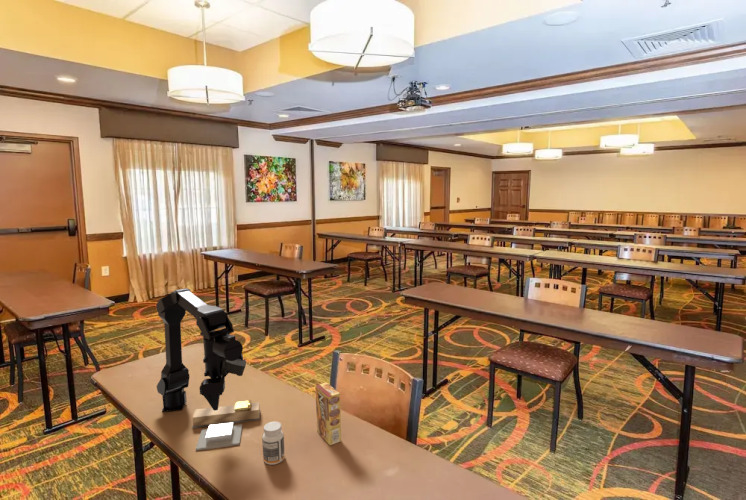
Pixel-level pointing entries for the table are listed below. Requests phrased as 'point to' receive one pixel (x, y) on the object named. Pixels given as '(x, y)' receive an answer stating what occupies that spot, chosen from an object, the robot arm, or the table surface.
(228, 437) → the cap plate
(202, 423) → the body
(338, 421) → the candy box
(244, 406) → the gold flat block
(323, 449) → the table surface
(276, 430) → the pill bottle
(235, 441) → the mat
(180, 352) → the robot arm
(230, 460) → the table surface
